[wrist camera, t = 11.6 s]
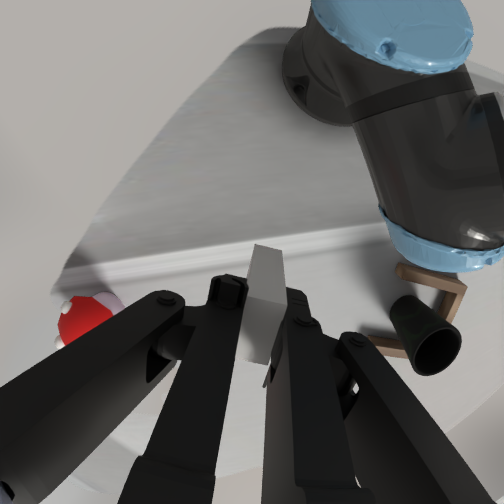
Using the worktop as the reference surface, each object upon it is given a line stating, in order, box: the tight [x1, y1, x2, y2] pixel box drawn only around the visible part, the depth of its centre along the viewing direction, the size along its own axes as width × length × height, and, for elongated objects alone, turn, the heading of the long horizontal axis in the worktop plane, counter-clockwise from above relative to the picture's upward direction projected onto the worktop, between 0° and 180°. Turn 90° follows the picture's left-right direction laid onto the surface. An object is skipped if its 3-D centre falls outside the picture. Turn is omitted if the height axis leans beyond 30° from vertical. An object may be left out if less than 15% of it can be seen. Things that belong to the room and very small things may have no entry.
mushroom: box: [55, 292, 125, 349], centre depth 41 cm, size 11×11×12 cm
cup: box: [390, 295, 462, 376], centre depth 38 cm, size 8×8×12 cm
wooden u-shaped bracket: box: [367, 262, 467, 359], centre depth 42 cm, size 14×12×3 cm
